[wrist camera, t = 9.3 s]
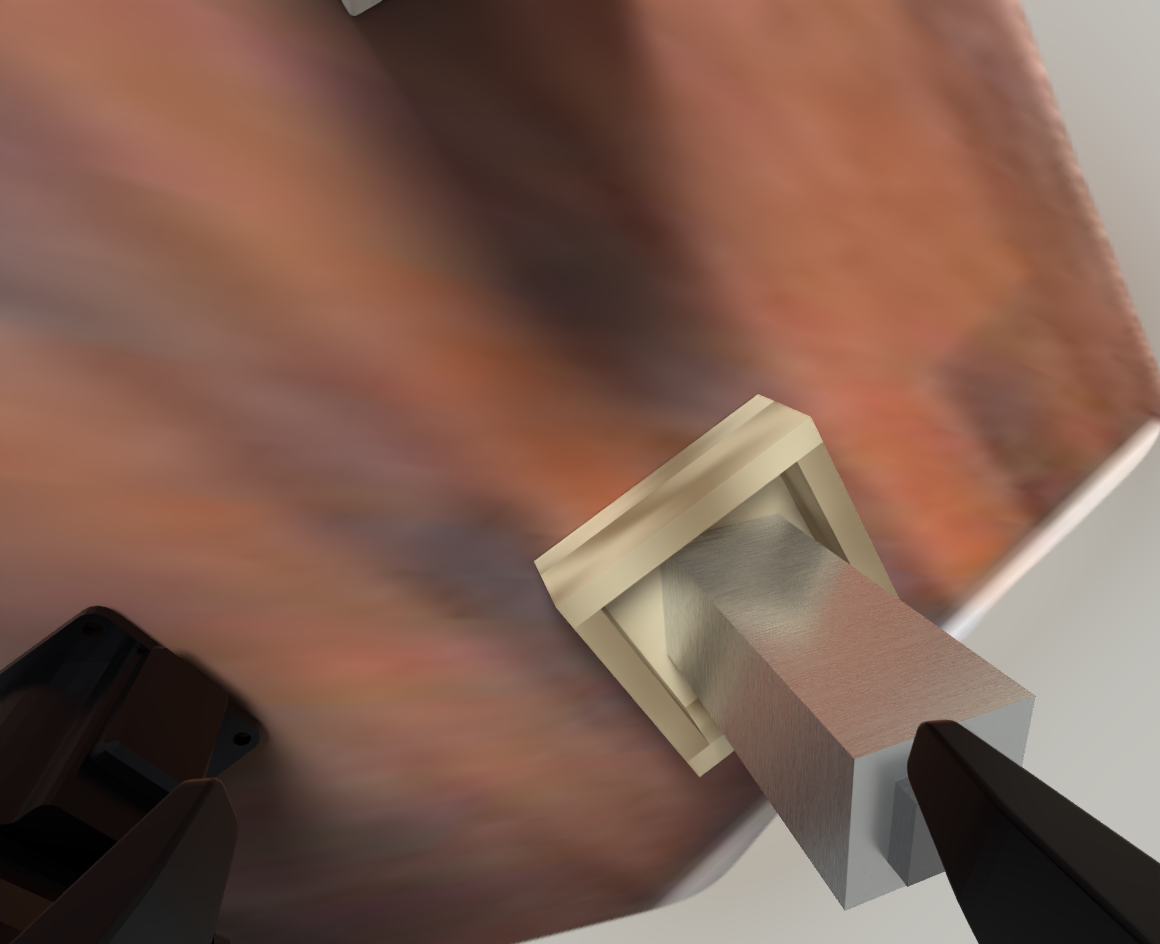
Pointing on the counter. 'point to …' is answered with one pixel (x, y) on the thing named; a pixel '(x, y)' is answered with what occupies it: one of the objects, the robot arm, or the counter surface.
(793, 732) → the socket block
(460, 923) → the counter surface
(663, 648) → the cream square holder
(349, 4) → the supplement box
